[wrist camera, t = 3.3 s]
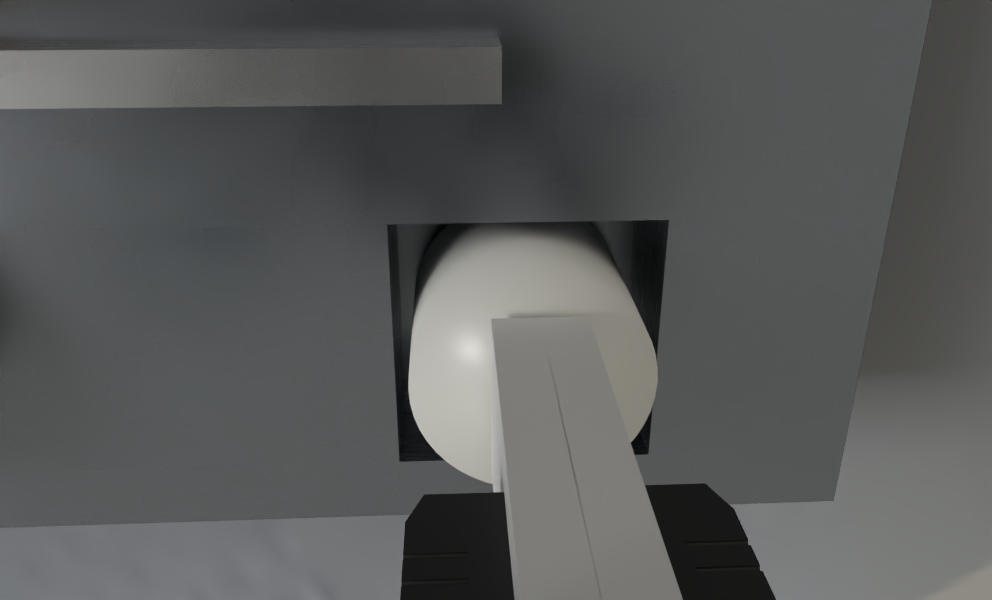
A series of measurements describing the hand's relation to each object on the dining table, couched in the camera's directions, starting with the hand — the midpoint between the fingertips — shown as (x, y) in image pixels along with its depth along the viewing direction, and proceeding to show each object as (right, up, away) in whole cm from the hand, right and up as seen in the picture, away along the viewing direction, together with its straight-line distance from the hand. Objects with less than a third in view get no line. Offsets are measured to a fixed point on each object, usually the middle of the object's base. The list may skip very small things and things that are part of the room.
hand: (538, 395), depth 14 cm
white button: (0, +2, +3) cm, 4 cm away
